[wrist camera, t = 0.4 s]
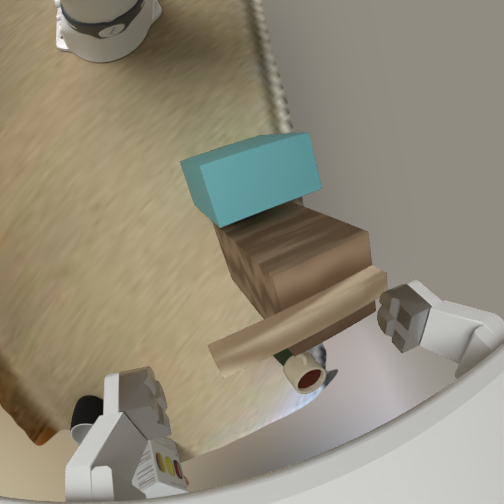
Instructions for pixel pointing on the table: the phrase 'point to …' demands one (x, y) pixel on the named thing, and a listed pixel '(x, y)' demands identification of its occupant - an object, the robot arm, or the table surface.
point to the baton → (297, 321)
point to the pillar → (294, 261)
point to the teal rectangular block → (251, 176)
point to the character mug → (301, 370)
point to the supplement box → (160, 470)
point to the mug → (85, 417)
